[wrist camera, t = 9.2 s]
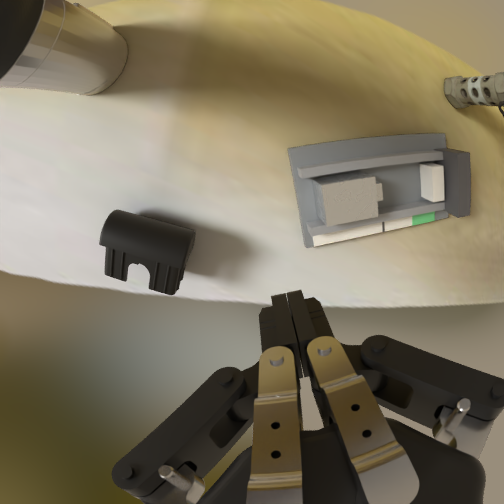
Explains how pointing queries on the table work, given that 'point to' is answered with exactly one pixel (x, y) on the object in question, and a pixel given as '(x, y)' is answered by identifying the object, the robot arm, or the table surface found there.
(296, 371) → the robot arm
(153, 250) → the end cap
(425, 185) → the white upright block
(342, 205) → the grey textured block
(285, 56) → the table surface
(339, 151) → the gauge board
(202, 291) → the table surface
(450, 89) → the grenade model
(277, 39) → the table surface
